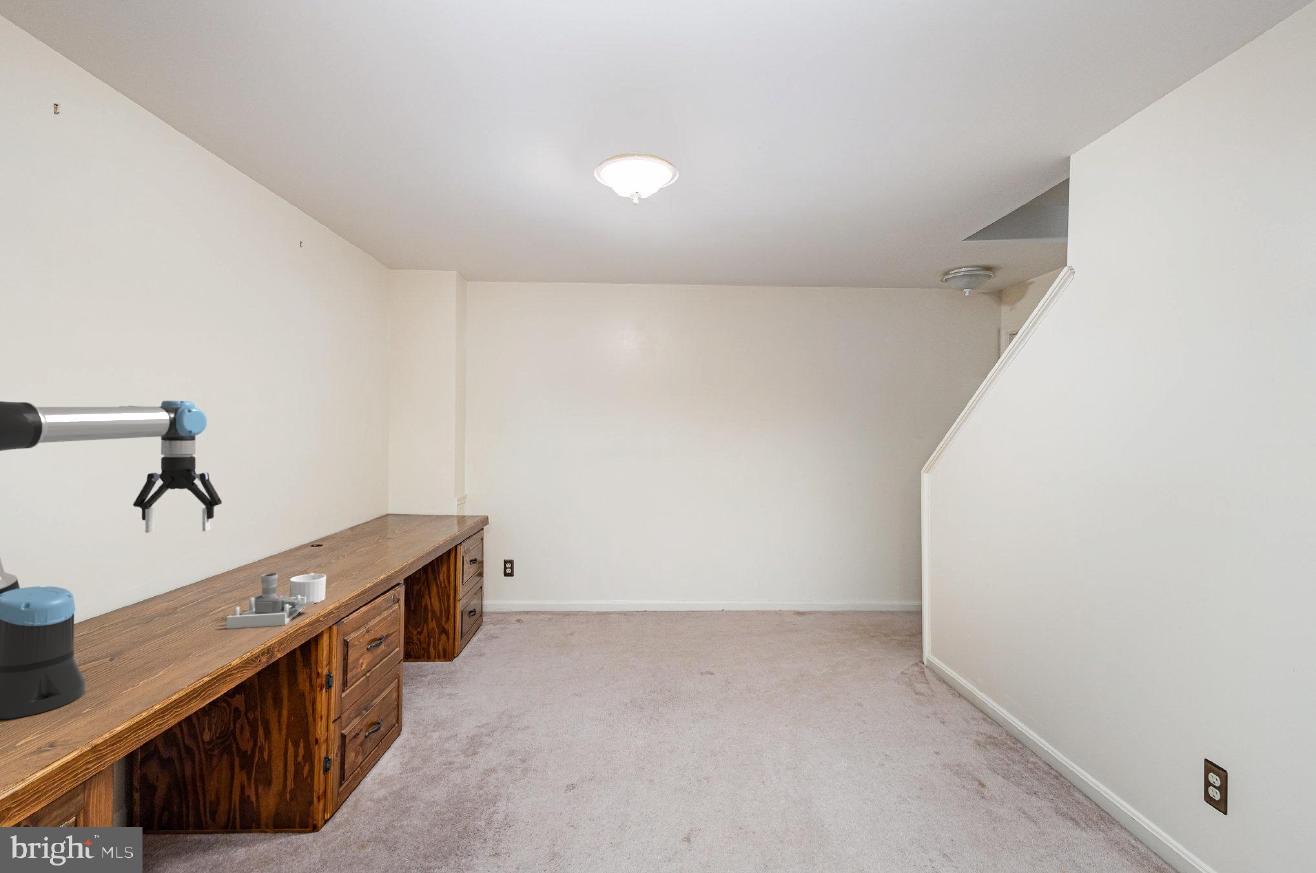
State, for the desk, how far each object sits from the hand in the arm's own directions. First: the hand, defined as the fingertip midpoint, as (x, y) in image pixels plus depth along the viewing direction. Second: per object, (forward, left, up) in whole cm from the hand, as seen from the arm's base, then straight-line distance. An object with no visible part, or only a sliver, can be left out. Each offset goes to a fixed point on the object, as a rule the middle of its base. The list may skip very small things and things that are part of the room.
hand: (178, 531), depth 166 cm
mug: (+27, -25, -29) cm, 47 cm away
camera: (+11, -22, -28) cm, 37 cm away
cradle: (+10, -19, -29) cm, 36 cm away
